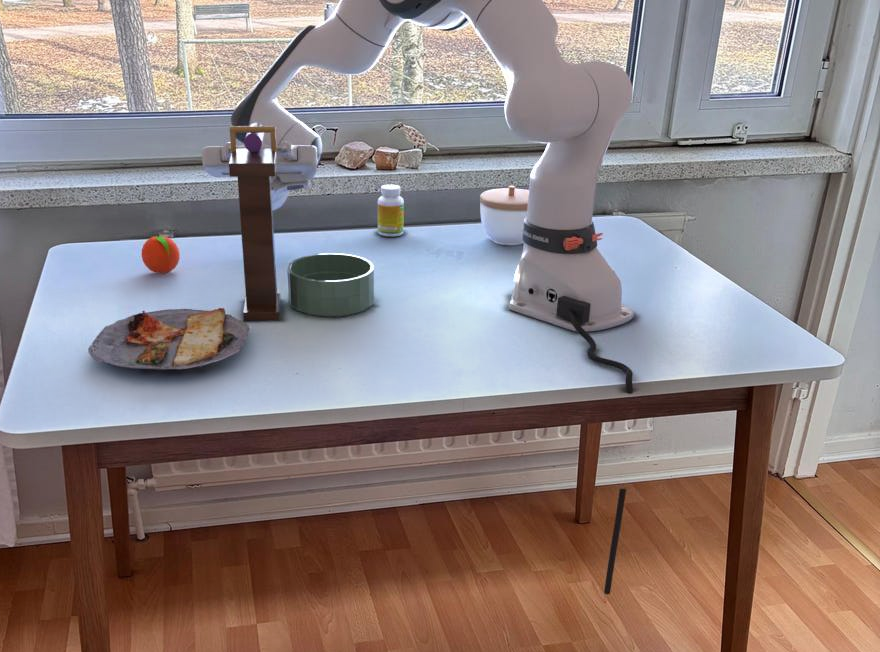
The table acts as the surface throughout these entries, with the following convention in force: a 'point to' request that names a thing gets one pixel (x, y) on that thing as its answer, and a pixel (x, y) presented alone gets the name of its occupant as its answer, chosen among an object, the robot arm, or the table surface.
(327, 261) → the bowl
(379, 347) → the table surface
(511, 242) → the lidded bowl
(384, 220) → the supplement bottle
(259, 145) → the glue stick
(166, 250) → the clementine
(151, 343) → the food plate
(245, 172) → the stand
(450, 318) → the table surface
